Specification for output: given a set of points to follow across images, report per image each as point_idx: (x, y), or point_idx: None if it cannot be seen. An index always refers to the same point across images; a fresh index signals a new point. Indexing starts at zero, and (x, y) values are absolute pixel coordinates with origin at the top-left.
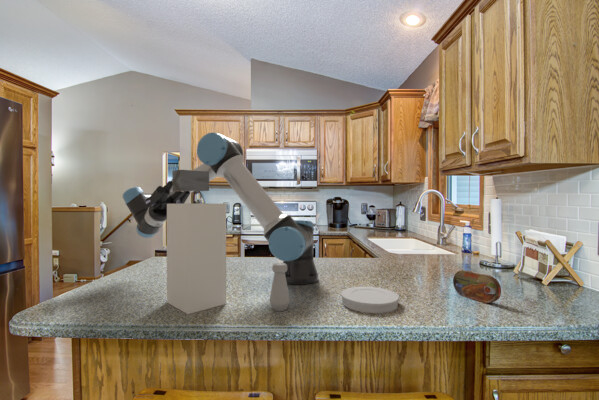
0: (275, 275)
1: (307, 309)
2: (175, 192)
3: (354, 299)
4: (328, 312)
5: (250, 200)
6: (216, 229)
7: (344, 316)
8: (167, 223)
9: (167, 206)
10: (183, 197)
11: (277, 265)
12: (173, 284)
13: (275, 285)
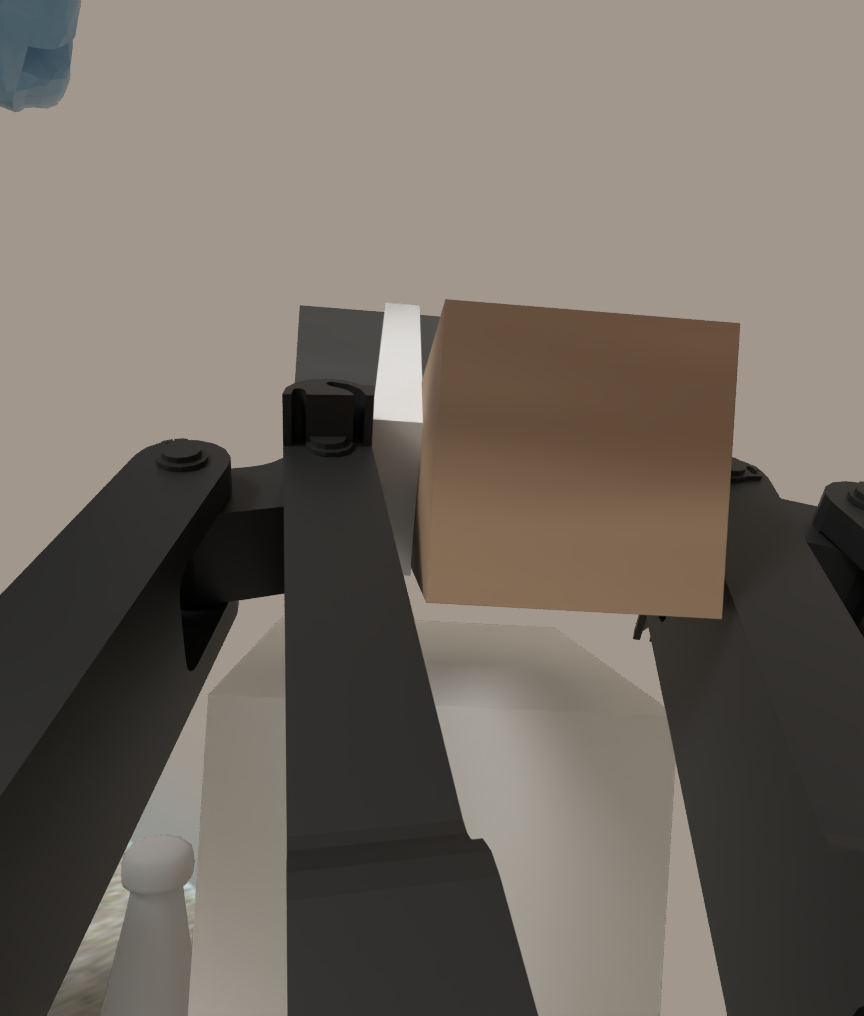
0: (180, 896)
1: (97, 987)
2: (409, 635)
3: None
4: (94, 938)
5: None
6: None
7: (108, 904)
8: (657, 937)
9: (669, 743)
10: (138, 783)
11: (187, 843)
12: None
13: (188, 932)
